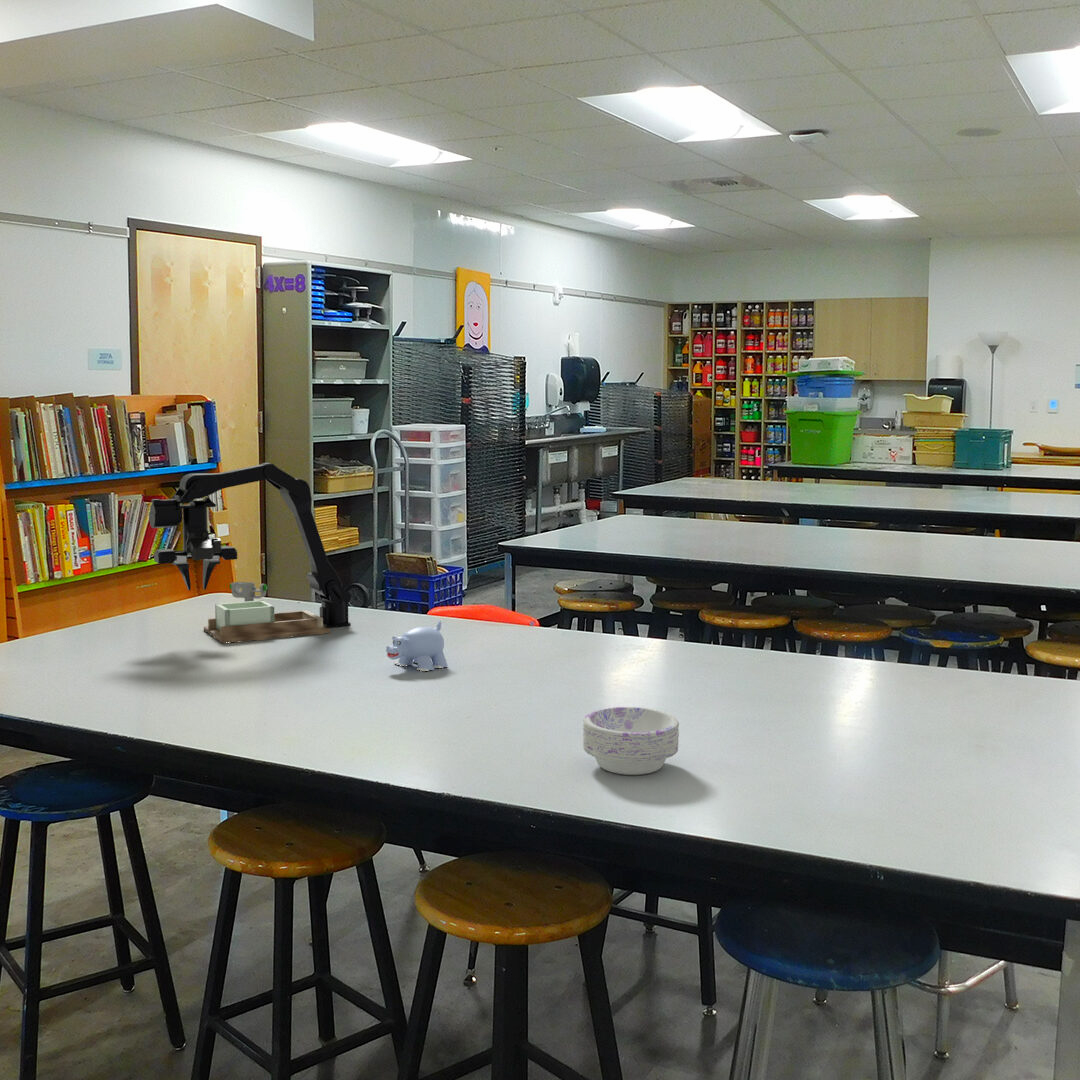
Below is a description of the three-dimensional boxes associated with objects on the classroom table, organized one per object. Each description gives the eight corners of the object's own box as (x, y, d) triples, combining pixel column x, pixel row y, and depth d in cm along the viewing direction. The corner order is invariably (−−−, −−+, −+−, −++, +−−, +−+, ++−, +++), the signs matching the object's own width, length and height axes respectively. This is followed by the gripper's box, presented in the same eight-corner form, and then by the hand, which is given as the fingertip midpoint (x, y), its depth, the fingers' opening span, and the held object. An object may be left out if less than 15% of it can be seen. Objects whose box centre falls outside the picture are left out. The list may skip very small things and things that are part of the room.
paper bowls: (639, 788, 173) (640, 737, 172) (563, 767, 183) (563, 718, 182) (696, 765, 184) (698, 717, 183) (621, 746, 194) (622, 700, 193)
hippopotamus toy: (373, 669, 250) (373, 626, 249) (425, 658, 261) (425, 617, 260) (406, 677, 243) (405, 632, 242) (458, 665, 254) (458, 623, 253)
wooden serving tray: (307, 621, 303) (307, 608, 303) (330, 633, 288) (330, 619, 288) (203, 630, 290) (203, 617, 290) (222, 643, 275) (221, 629, 274)
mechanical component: (265, 622, 302) (264, 584, 301) (229, 620, 304) (228, 583, 303) (269, 620, 305) (269, 583, 304) (234, 618, 307) (233, 581, 306)
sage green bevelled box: (263, 623, 293) (262, 600, 293) (274, 630, 285) (274, 606, 284) (215, 627, 288) (215, 604, 287) (226, 634, 279) (225, 610, 278)
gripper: (162, 531, 266) (164, 597, 268) (242, 527, 275) (244, 591, 277) (152, 526, 275) (154, 590, 277) (230, 523, 285) (232, 585, 287)
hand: (197, 589), depth 279 cm, fingers open, 3 cm apart
